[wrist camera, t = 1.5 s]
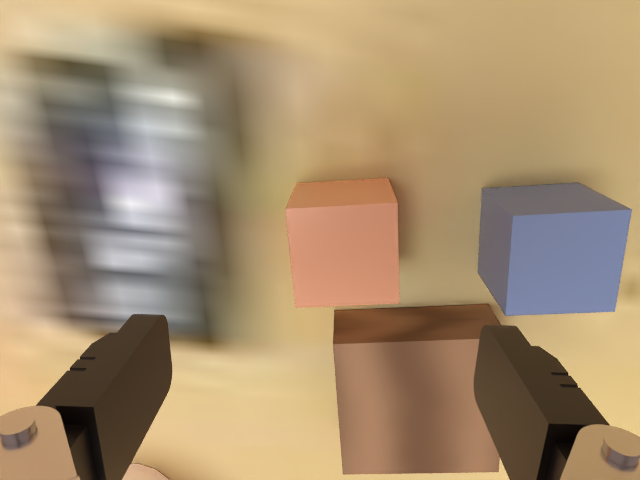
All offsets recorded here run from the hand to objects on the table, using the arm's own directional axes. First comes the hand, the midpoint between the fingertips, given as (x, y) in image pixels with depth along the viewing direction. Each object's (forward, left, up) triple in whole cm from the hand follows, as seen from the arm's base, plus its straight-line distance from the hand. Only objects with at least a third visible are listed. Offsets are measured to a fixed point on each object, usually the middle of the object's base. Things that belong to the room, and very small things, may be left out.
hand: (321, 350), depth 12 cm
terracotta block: (0, +2, -17) cm, 17 cm away
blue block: (-11, +3, -17) cm, 21 cm away
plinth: (-4, +13, -17) cm, 22 cm away
